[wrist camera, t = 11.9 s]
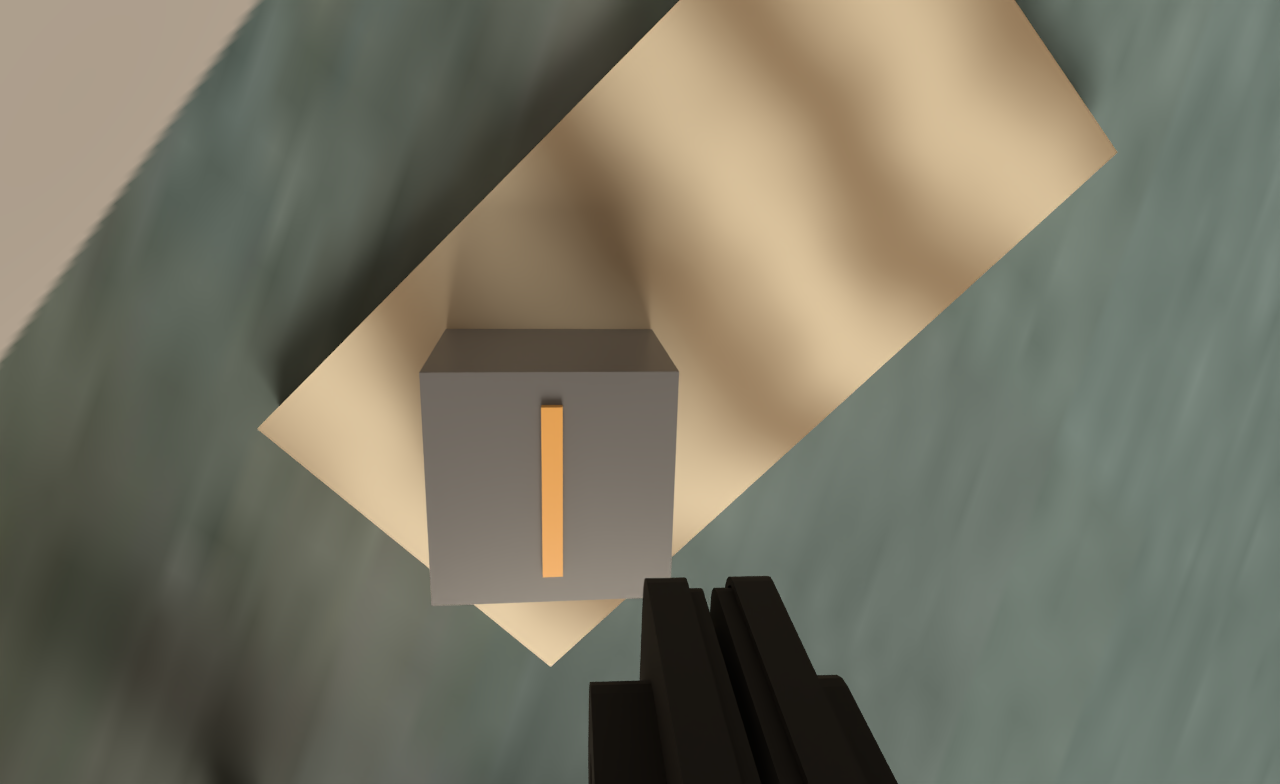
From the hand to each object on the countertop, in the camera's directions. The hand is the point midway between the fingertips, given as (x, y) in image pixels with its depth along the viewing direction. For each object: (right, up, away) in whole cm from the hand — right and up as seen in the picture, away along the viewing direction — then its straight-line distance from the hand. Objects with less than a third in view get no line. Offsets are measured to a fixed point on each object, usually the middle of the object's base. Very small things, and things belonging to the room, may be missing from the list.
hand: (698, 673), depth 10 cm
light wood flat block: (+1, +7, +15) cm, 16 cm away
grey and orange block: (-3, +3, +13) cm, 14 cm away
